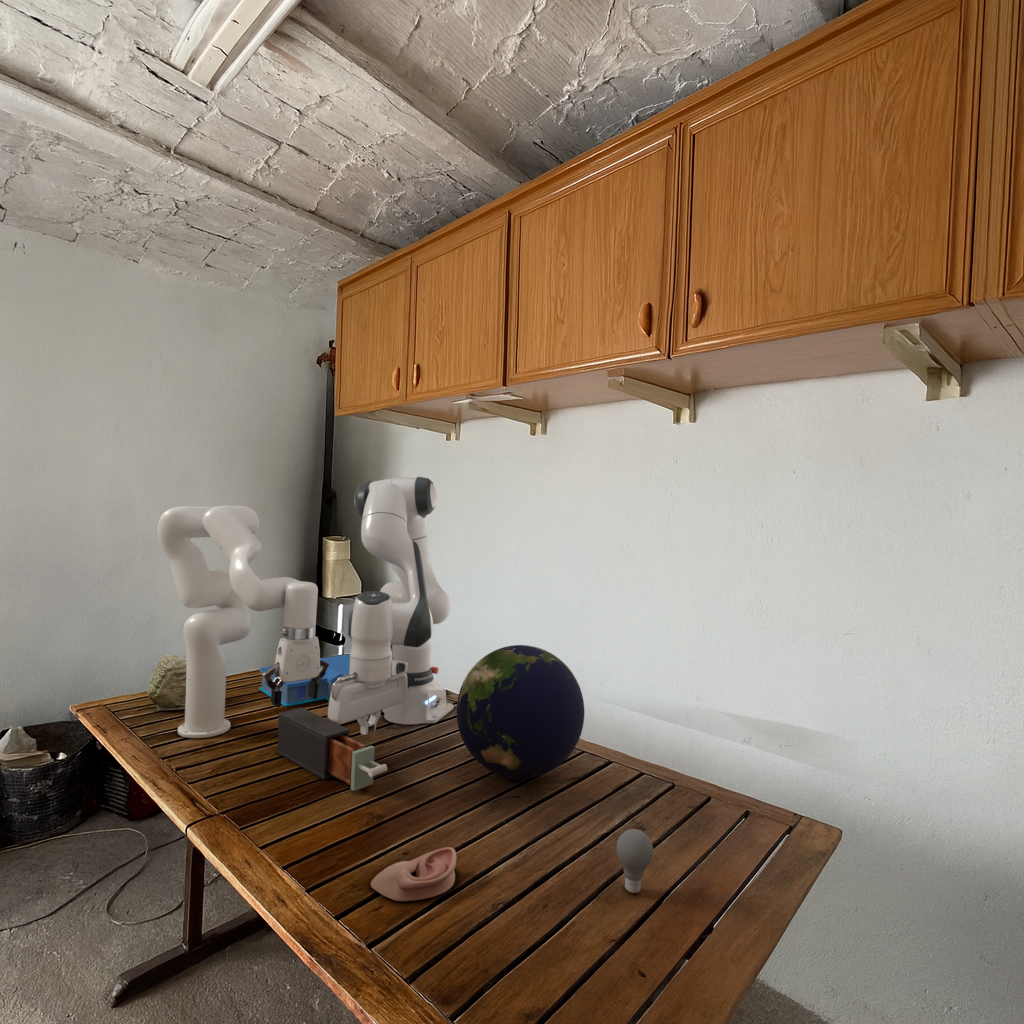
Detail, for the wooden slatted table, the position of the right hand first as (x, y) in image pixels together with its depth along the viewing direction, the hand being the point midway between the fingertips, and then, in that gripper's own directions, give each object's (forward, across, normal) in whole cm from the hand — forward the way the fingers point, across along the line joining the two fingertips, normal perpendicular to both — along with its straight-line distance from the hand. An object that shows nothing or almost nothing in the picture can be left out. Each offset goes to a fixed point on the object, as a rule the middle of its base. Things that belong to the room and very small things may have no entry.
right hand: (368, 732), depth 136 cm
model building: (+13, +45, +62) cm, 78 cm away
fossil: (+13, +6, +81) cm, 82 cm away
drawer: (+12, +1, +8) cm, 15 cm away
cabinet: (+13, +3, +22) cm, 25 cm away
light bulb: (+13, +2, -60) cm, 62 cm away
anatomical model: (+13, -18, -29) cm, 37 cm away
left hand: (0, +4, +29) cm, 30 cm away
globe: (+13, +28, -21) cm, 38 cm away
